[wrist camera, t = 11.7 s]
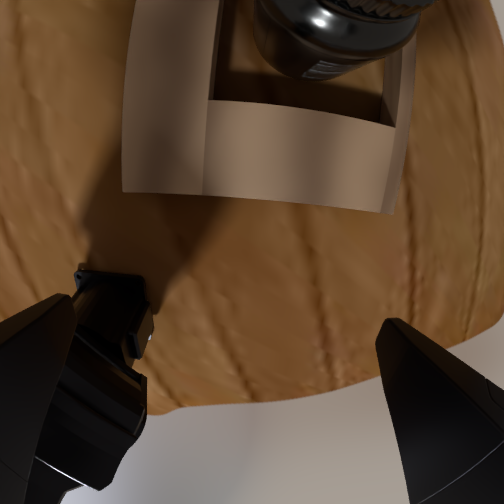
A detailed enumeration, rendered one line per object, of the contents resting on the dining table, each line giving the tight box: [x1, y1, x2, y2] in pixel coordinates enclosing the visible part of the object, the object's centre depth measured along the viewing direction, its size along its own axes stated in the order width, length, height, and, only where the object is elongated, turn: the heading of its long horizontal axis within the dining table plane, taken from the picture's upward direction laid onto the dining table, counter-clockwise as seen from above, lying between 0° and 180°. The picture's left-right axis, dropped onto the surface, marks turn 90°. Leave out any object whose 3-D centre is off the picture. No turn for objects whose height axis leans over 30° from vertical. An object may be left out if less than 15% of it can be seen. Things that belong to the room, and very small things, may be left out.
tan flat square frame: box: [122, 0, 416, 215], centre depth 14 cm, size 17×18×2 cm
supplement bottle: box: [253, 0, 439, 82], centre depth 9 cm, size 7×7×12 cm
